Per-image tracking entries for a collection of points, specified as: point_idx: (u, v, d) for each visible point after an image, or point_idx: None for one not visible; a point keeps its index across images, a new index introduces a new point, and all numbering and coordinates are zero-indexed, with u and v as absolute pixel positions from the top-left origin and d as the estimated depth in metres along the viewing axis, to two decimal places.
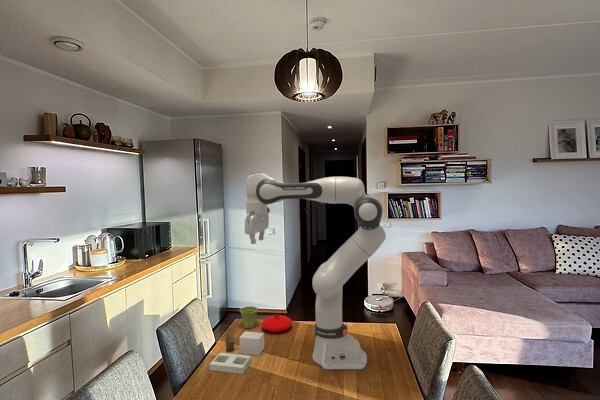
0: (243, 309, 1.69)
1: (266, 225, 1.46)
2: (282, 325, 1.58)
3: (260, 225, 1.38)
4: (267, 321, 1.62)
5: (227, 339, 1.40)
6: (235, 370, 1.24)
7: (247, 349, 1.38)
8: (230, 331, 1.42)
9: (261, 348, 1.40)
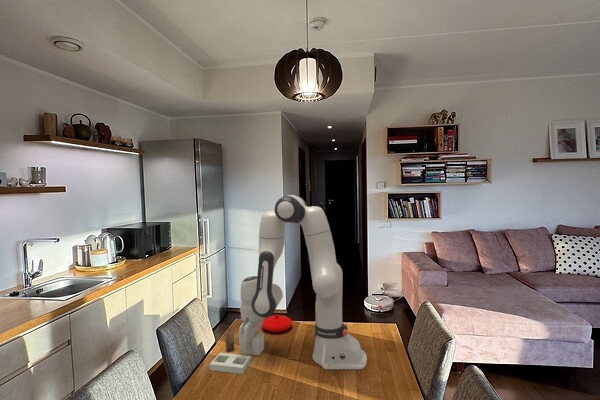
0: None
1: (261, 324, 1.47)
2: (282, 325, 1.58)
3: (254, 329, 1.40)
4: (267, 321, 1.62)
5: (227, 339, 1.40)
6: (235, 370, 1.24)
7: None
8: (230, 331, 1.42)
9: (261, 348, 1.40)
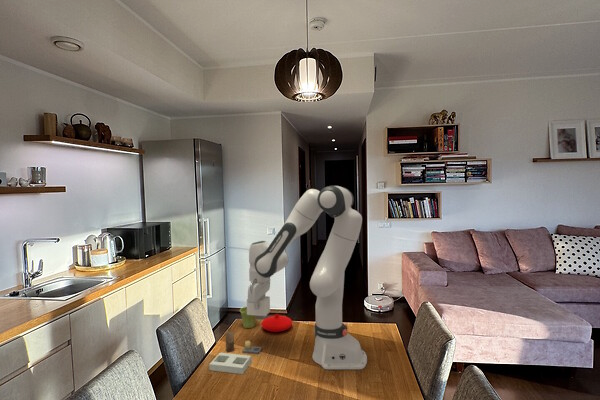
0: (243, 309, 1.69)
1: (268, 287, 1.54)
2: (282, 325, 1.58)
3: (262, 290, 1.47)
4: (267, 321, 1.62)
5: (227, 339, 1.40)
6: (235, 370, 1.24)
7: (254, 310, 1.46)
8: (230, 331, 1.42)
9: (267, 310, 1.47)
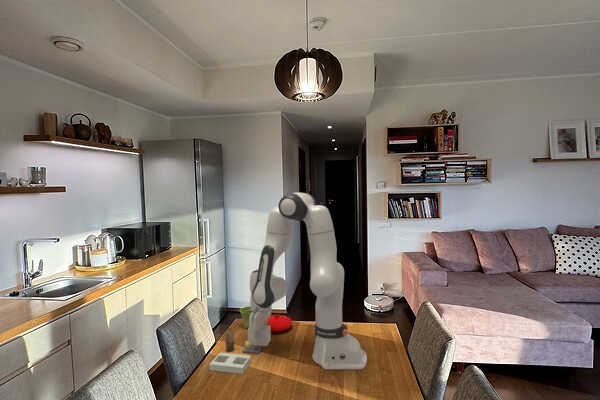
0: (243, 309, 1.69)
1: (269, 314, 1.55)
2: (282, 325, 1.58)
3: (263, 318, 1.47)
4: None
5: (227, 339, 1.40)
6: (235, 370, 1.24)
7: (255, 340, 1.46)
8: (230, 331, 1.42)
9: (268, 340, 1.47)
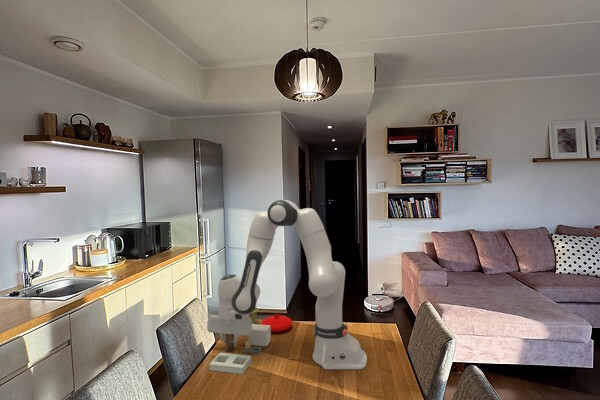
0: None
1: (243, 331, 1.39)
2: (282, 325, 1.58)
3: (226, 328, 1.40)
4: (267, 321, 1.62)
5: (227, 339, 1.40)
6: (235, 370, 1.24)
7: (255, 340, 1.46)
8: None
9: (268, 340, 1.47)
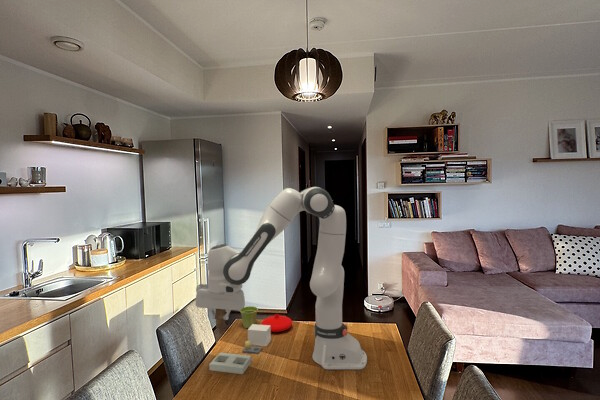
0: (243, 309, 1.69)
1: (234, 306, 1.26)
2: (282, 325, 1.58)
3: (216, 302, 1.28)
4: (267, 321, 1.62)
5: (217, 314, 1.28)
6: (235, 370, 1.24)
7: (255, 340, 1.46)
8: None
9: (268, 340, 1.47)
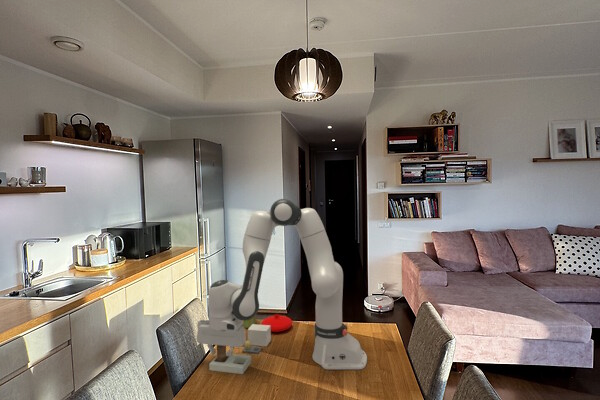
0: None
1: (235, 343, 1.26)
2: (282, 325, 1.58)
3: (217, 338, 1.28)
4: (267, 321, 1.62)
5: (218, 353, 1.28)
6: (235, 370, 1.24)
7: (255, 340, 1.46)
8: None
9: (268, 340, 1.47)
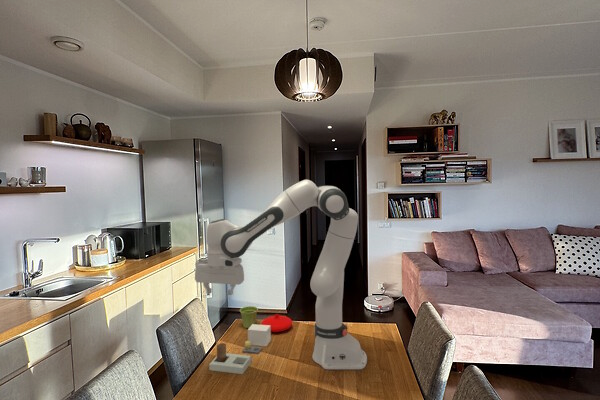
0: (243, 309, 1.69)
1: (233, 280, 1.26)
2: (282, 325, 1.58)
3: (215, 276, 1.27)
4: (267, 321, 1.62)
5: (218, 353, 1.28)
6: (235, 370, 1.24)
7: (255, 340, 1.46)
8: (222, 345, 1.30)
9: (268, 340, 1.47)
